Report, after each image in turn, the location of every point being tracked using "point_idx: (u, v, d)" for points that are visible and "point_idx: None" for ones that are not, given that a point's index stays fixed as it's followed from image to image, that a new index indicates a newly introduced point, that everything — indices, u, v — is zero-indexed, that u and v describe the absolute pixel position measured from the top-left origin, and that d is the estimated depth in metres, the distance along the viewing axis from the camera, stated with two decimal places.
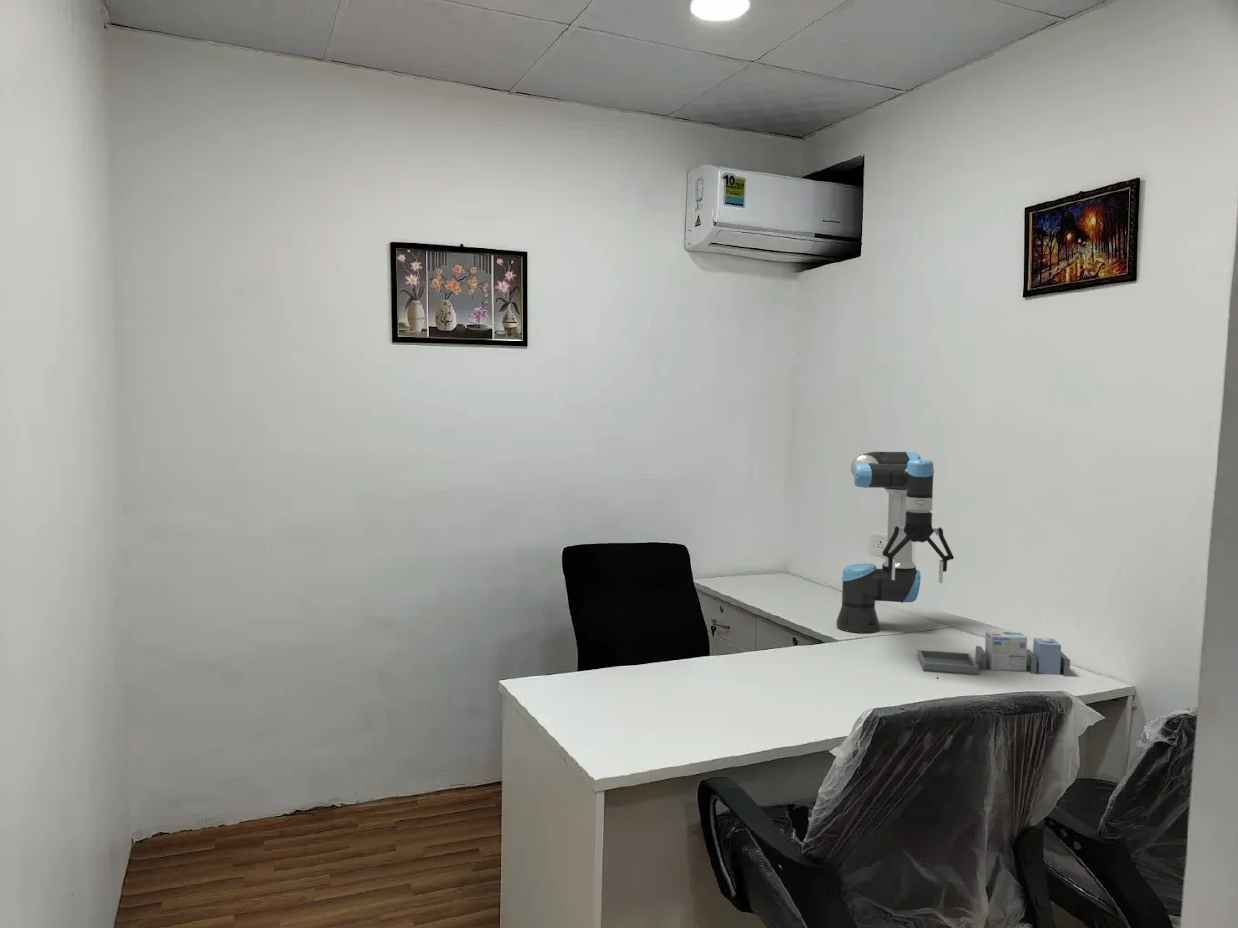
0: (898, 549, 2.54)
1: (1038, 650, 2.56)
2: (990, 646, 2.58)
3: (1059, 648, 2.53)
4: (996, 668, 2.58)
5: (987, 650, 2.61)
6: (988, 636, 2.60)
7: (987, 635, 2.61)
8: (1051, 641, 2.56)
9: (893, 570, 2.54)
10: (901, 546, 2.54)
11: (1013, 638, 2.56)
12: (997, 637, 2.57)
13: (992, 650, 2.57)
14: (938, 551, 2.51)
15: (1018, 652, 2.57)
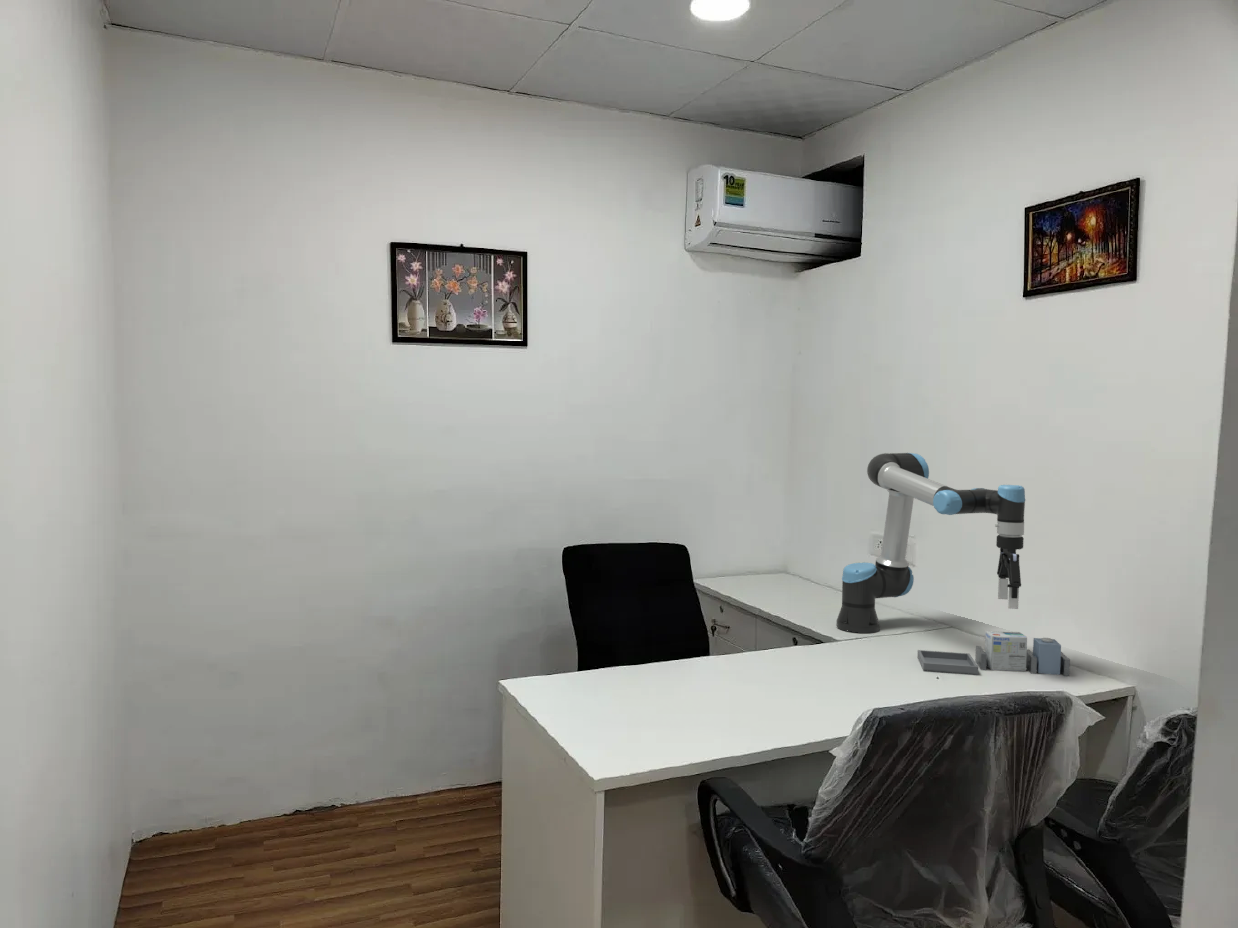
0: (1000, 569, 2.64)
1: (1038, 650, 2.56)
2: (990, 646, 2.58)
3: (1059, 648, 2.53)
4: (996, 668, 2.58)
5: (987, 650, 2.61)
6: (988, 636, 2.60)
7: (987, 635, 2.61)
8: (1051, 641, 2.56)
9: (998, 589, 2.66)
10: (1001, 567, 2.63)
11: (1013, 638, 2.56)
12: (997, 637, 2.57)
13: (992, 650, 2.57)
14: (1009, 576, 2.53)
15: (1018, 652, 2.57)
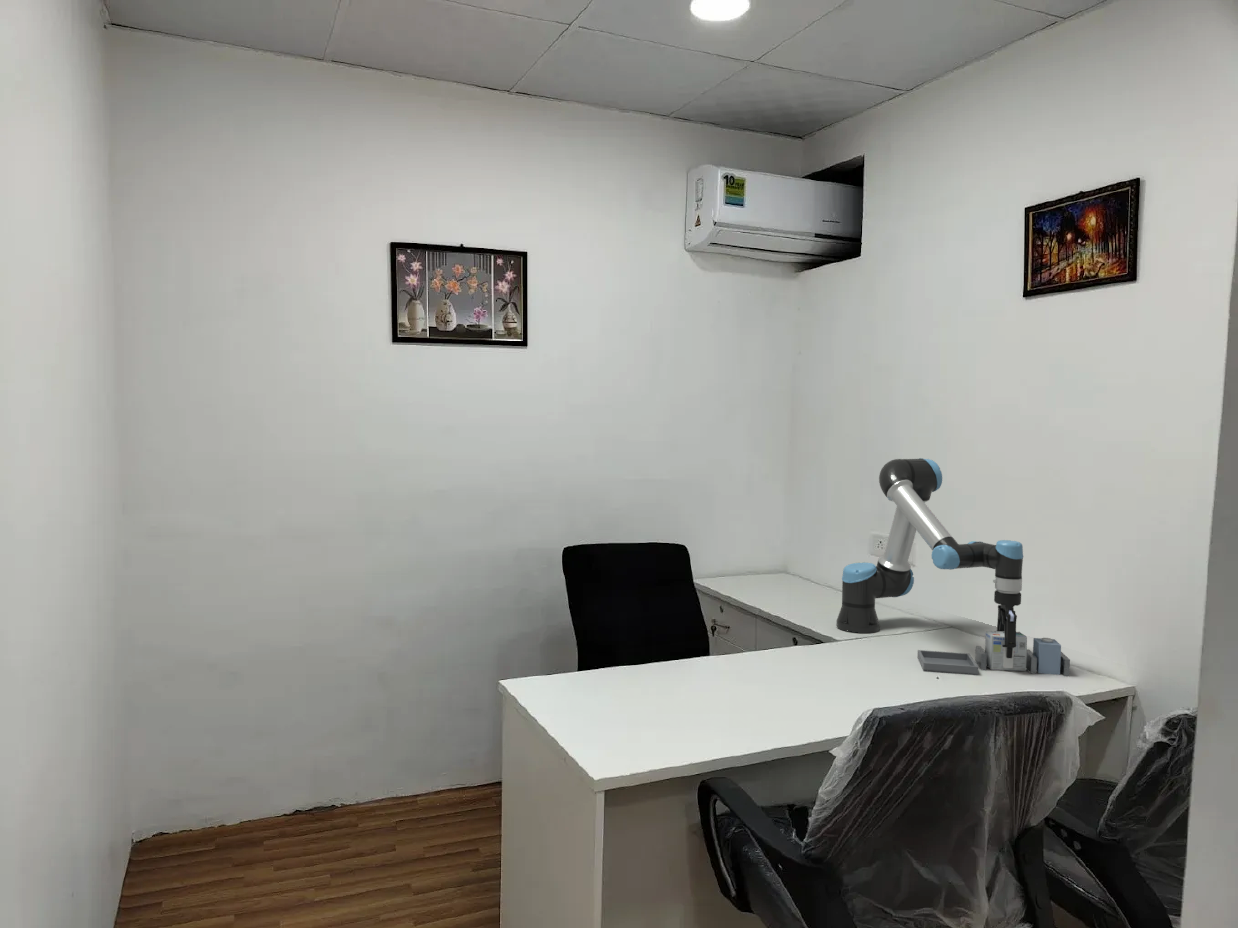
0: (999, 628, 2.64)
1: (1038, 650, 2.56)
2: (990, 646, 2.58)
3: (1059, 648, 2.53)
4: (996, 668, 2.58)
5: (987, 650, 2.61)
6: (988, 636, 2.60)
7: (987, 635, 2.61)
8: (1051, 641, 2.56)
9: None
10: (1000, 625, 2.63)
11: None
12: (997, 637, 2.57)
13: (992, 649, 2.57)
14: (1004, 635, 2.56)
15: (1018, 651, 2.57)
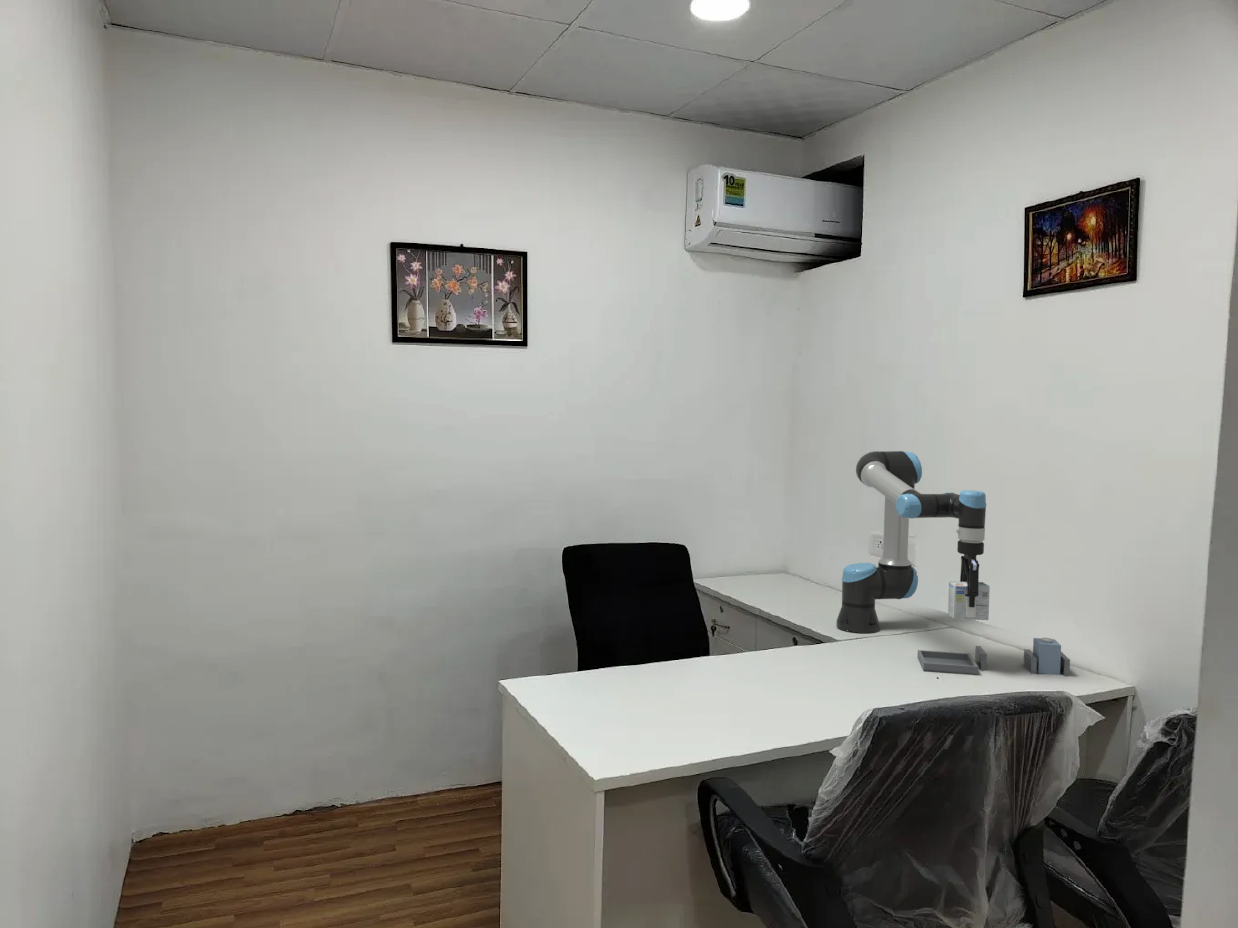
0: (962, 579, 2.63)
1: (1038, 650, 2.56)
2: (953, 596, 2.58)
3: (1059, 648, 2.53)
4: (959, 617, 2.58)
5: (950, 600, 2.61)
6: (951, 586, 2.60)
7: (950, 585, 2.61)
8: (1051, 641, 2.56)
9: None
10: (963, 576, 2.63)
11: None
12: (960, 586, 2.57)
13: (955, 599, 2.57)
14: (967, 584, 2.56)
15: (980, 601, 2.57)
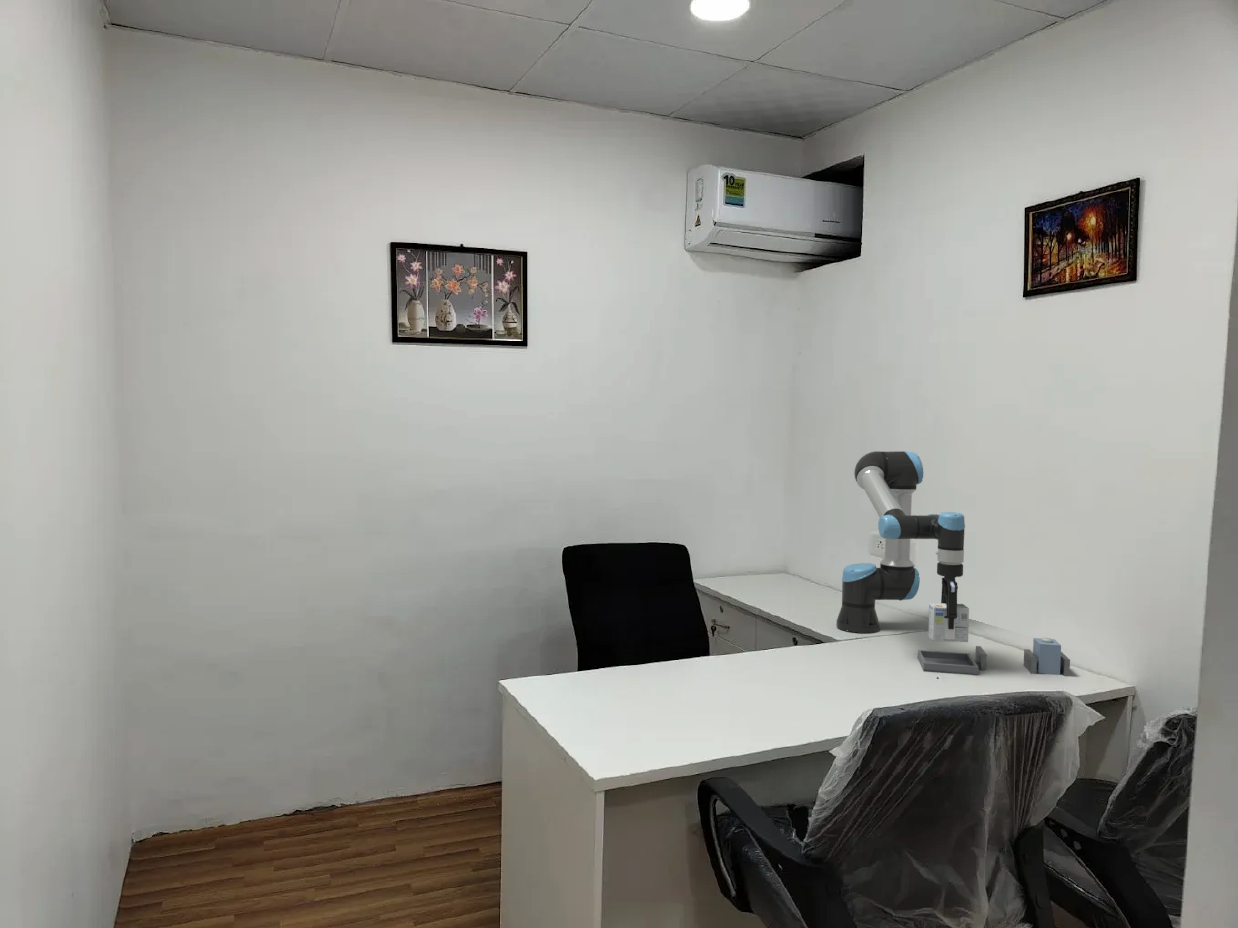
0: (943, 601, 2.64)
1: (1038, 650, 2.56)
2: (932, 617, 2.59)
3: (1059, 648, 2.53)
4: (938, 639, 2.58)
5: (930, 622, 2.61)
6: (931, 608, 2.61)
7: (930, 607, 2.62)
8: (1051, 641, 2.56)
9: None
10: (943, 597, 2.63)
11: None
12: (939, 608, 2.57)
13: (934, 621, 2.58)
14: (946, 606, 2.57)
15: (960, 623, 2.57)
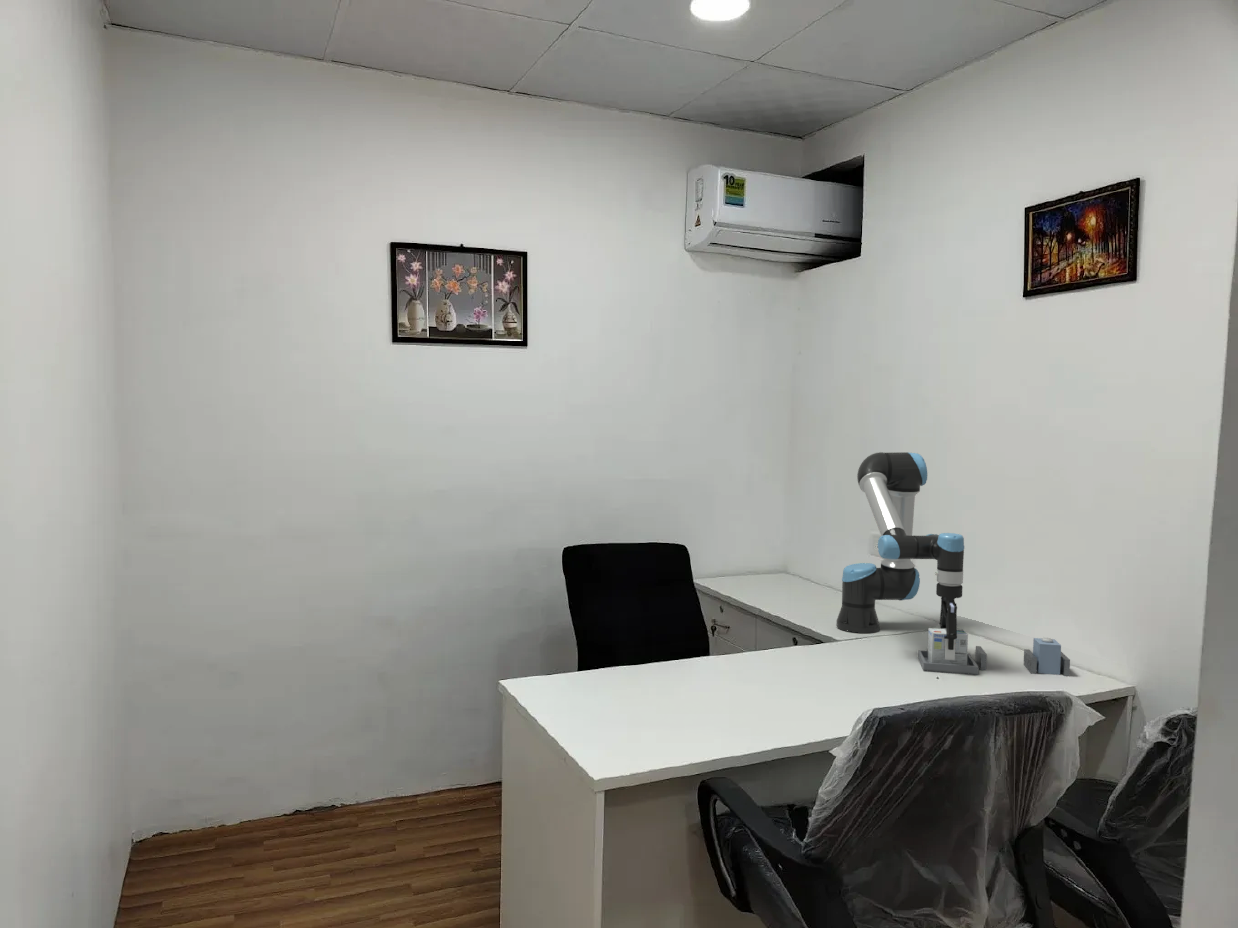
0: (941, 619, 2.65)
1: (1038, 650, 2.56)
2: (931, 643, 2.59)
3: (1059, 648, 2.53)
4: None
5: (929, 647, 2.62)
6: (930, 633, 2.61)
7: (929, 632, 2.62)
8: (1051, 641, 2.56)
9: None
10: (942, 616, 2.64)
11: None
12: (938, 634, 2.58)
13: (933, 646, 2.58)
14: (946, 627, 2.56)
15: (959, 649, 2.57)
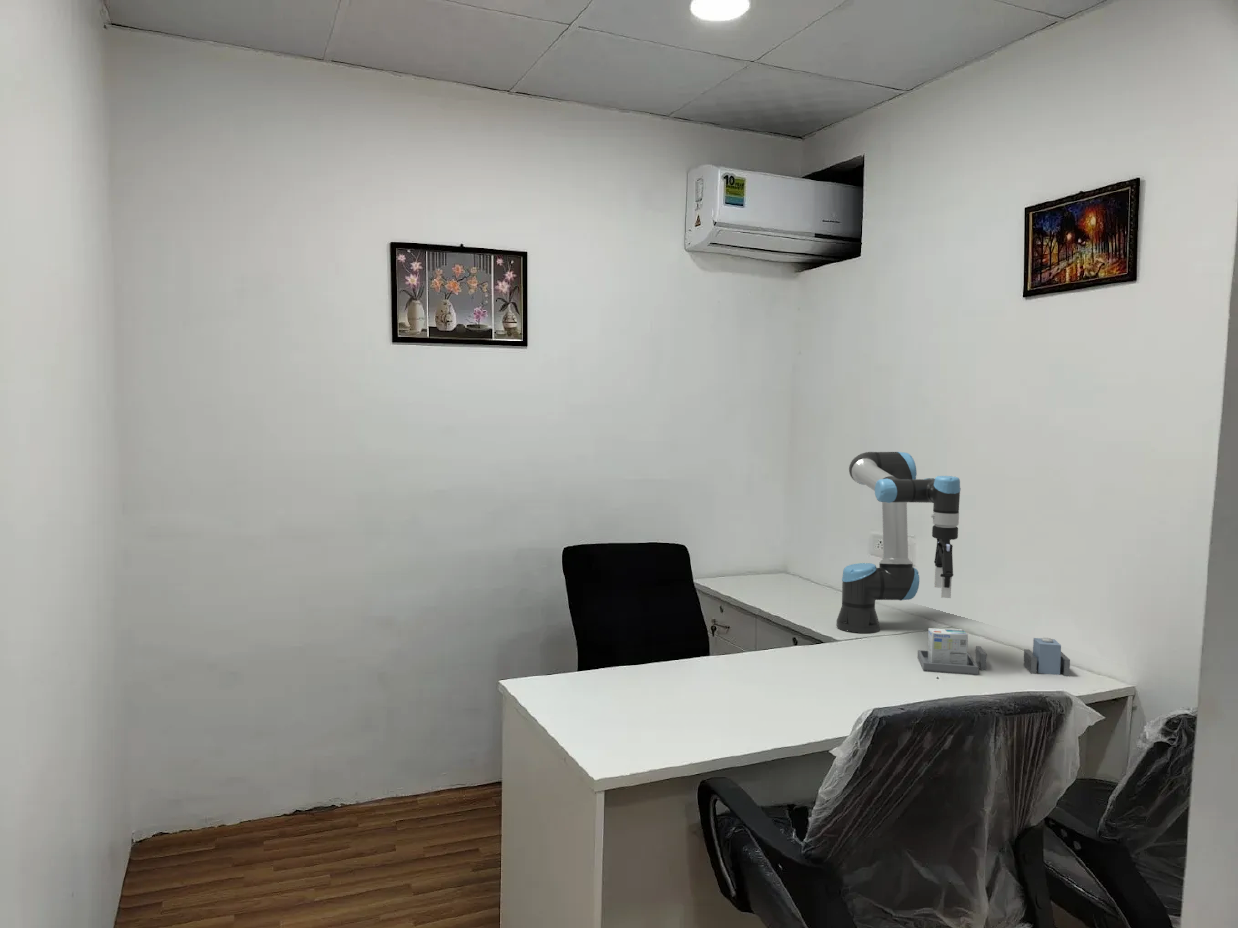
0: (936, 559, 2.69)
1: (1038, 650, 2.56)
2: (931, 643, 2.59)
3: (1059, 648, 2.53)
4: None
5: (929, 647, 2.62)
6: (930, 633, 2.61)
7: (929, 632, 2.62)
8: (1051, 641, 2.56)
9: (935, 578, 2.71)
10: (937, 556, 2.68)
11: (954, 635, 2.57)
12: (938, 634, 2.58)
13: (933, 646, 2.58)
14: (942, 566, 2.58)
15: (959, 649, 2.57)
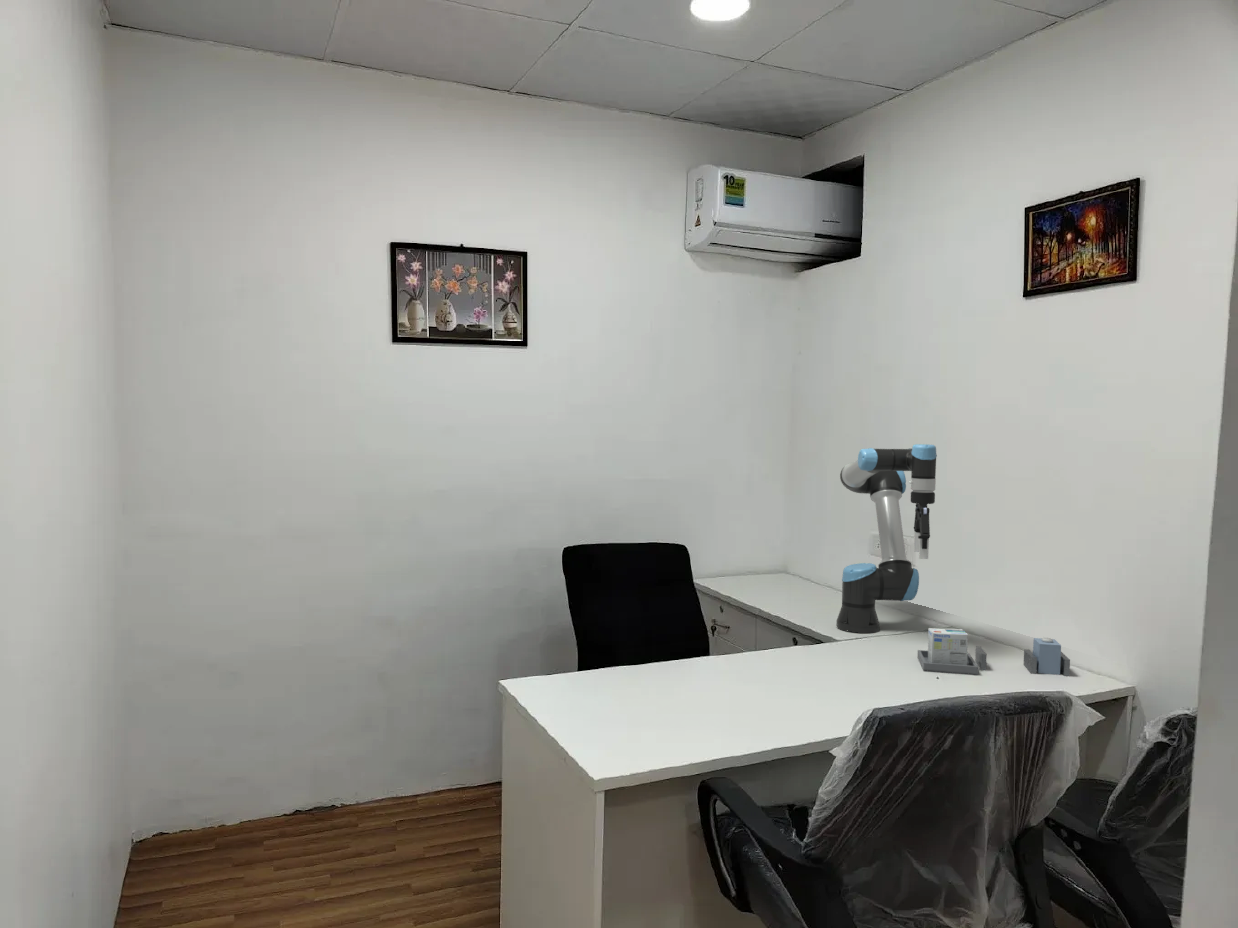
0: (915, 524, 2.83)
1: (1038, 650, 2.56)
2: (931, 643, 2.59)
3: (1059, 648, 2.53)
4: None
5: (929, 647, 2.62)
6: (930, 633, 2.61)
7: (929, 632, 2.62)
8: (1051, 641, 2.56)
9: (914, 542, 2.84)
10: (916, 521, 2.82)
11: (954, 635, 2.57)
12: (938, 634, 2.58)
13: (933, 646, 2.58)
14: (920, 529, 2.71)
15: (959, 649, 2.57)
